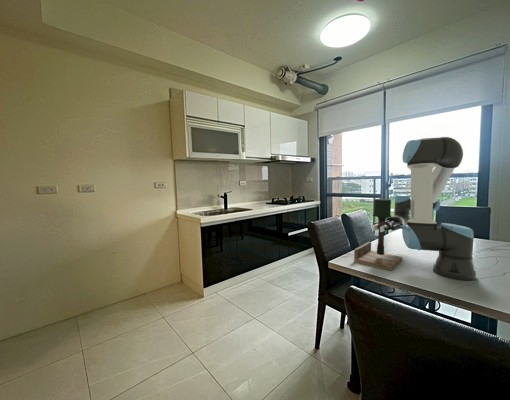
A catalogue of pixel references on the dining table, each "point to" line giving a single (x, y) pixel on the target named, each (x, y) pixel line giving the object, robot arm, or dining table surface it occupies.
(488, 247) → the dining table surface
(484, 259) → the dining table surface
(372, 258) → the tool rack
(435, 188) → the robot arm
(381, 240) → the stick grenade
